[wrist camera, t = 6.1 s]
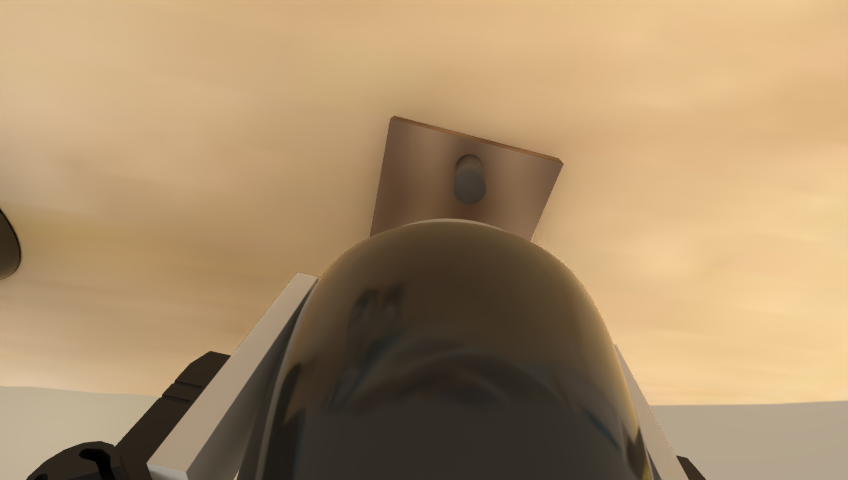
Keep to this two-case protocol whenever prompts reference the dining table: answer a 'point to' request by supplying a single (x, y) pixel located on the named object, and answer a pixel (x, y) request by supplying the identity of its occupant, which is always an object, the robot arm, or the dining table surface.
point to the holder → (460, 180)
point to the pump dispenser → (447, 369)
